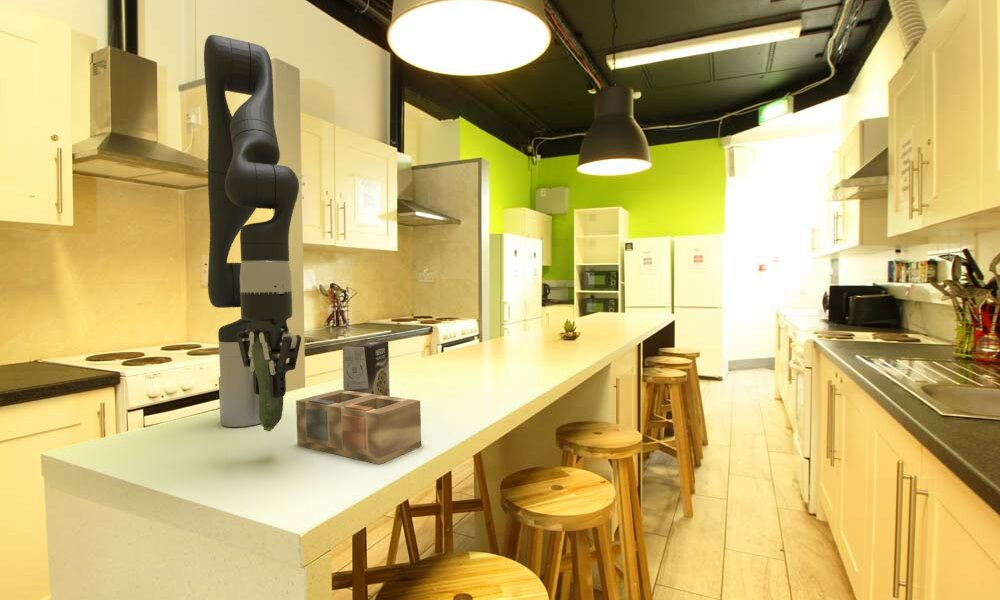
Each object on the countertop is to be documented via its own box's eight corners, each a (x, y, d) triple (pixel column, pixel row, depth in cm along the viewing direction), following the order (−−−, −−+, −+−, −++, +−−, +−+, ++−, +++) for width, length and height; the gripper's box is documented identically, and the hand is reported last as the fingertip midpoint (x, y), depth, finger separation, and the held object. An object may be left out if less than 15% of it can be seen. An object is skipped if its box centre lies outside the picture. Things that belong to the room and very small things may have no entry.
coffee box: (372, 426, 100) (370, 346, 100) (343, 425, 102) (340, 345, 101) (391, 414, 109) (389, 340, 109) (364, 413, 111) (362, 340, 110)
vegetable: (291, 429, 84) (285, 309, 82) (271, 437, 79) (265, 311, 78) (269, 427, 85) (264, 309, 84) (249, 435, 81) (243, 311, 80)
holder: (296, 445, 89) (294, 399, 89) (341, 430, 98) (340, 388, 98) (378, 465, 79) (377, 412, 79) (421, 446, 88) (420, 398, 87)
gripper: (218, 289, 81) (222, 395, 82) (272, 291, 74) (276, 406, 75) (260, 288, 88) (264, 386, 89) (315, 289, 80) (318, 395, 81)
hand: (269, 394), depth 82 cm, fingers closed on vegetable, 3 cm apart
